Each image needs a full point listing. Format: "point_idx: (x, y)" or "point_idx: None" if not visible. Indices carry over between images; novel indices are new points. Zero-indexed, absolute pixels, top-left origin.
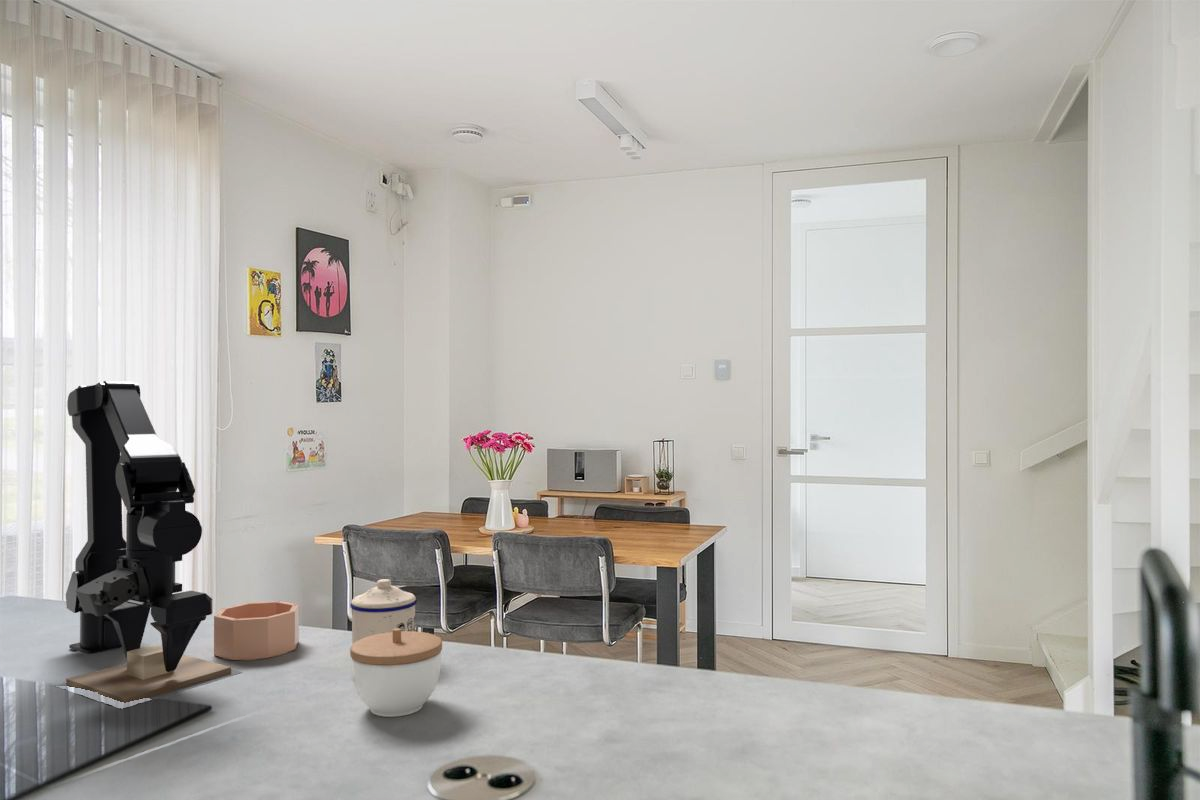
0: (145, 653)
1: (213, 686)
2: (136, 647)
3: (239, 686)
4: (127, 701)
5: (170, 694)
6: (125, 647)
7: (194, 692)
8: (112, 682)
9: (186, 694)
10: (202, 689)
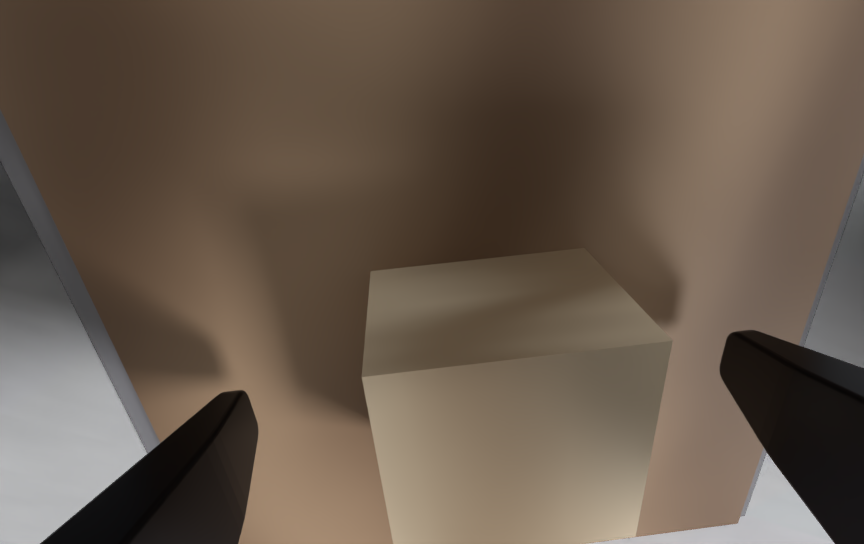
0: (448, 414)
1: (123, 464)
2: (775, 435)
3: (37, 523)
4: None
5: (65, 286)
6: (826, 381)
7: (78, 383)
8: (494, 106)
9: (67, 347)
10: (107, 421)
